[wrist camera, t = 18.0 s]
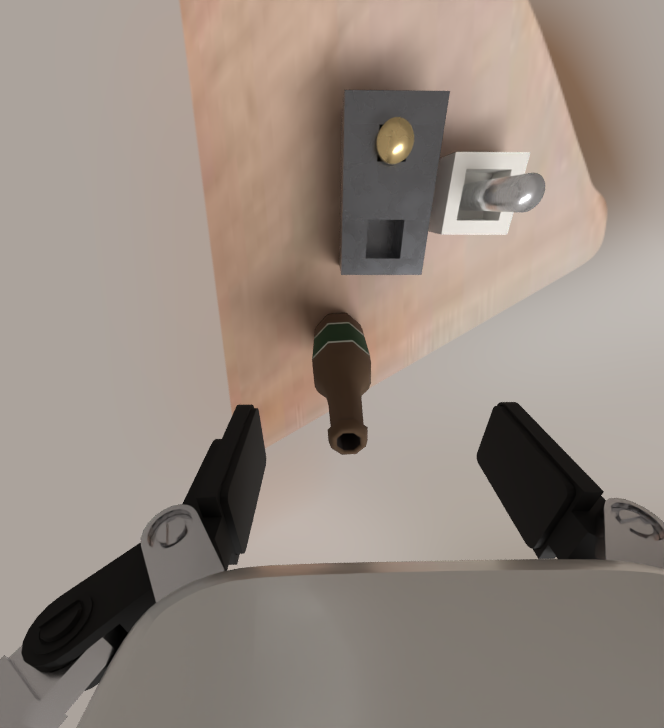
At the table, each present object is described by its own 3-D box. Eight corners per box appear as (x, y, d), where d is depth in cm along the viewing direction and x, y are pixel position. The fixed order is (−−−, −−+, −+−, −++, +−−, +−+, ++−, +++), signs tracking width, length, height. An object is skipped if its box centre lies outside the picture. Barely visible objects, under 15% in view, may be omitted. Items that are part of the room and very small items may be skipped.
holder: (439, 158, 34) (456, 151, 30) (504, 159, 34) (530, 152, 30) (428, 231, 38) (441, 234, 34) (486, 231, 38) (507, 234, 34)
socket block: (341, 109, 32) (344, 90, 27) (429, 109, 32) (449, 90, 27) (339, 265, 40) (341, 274, 35) (408, 265, 40) (421, 274, 35)
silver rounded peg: (458, 182, 35) (516, 172, 24) (482, 182, 35) (550, 172, 24) (453, 210, 36) (505, 212, 26) (476, 210, 36) (537, 212, 26)
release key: (369, 132, 32) (378, 116, 27) (401, 132, 32) (416, 117, 27) (367, 170, 34) (375, 163, 28) (397, 170, 34) (411, 163, 28)
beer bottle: (350, 302, 43) (373, 393, 22) (369, 343, 46) (405, 457, 25) (305, 323, 44) (287, 428, 23) (327, 361, 48) (328, 483, 27)
